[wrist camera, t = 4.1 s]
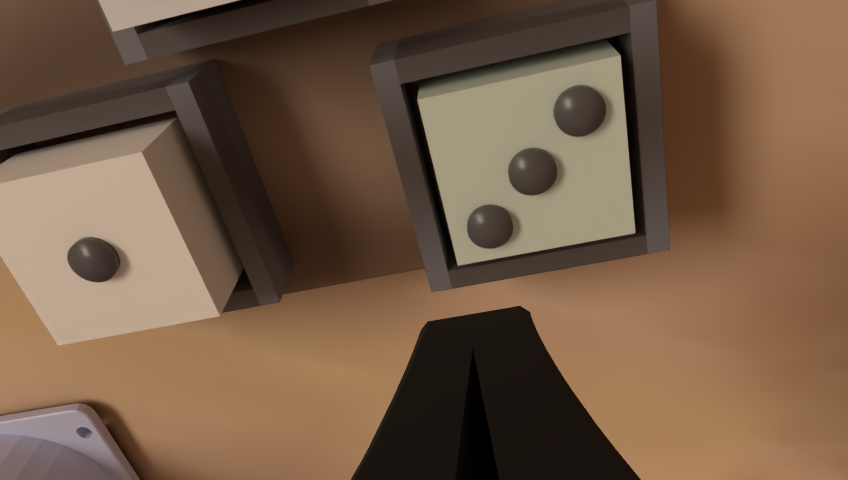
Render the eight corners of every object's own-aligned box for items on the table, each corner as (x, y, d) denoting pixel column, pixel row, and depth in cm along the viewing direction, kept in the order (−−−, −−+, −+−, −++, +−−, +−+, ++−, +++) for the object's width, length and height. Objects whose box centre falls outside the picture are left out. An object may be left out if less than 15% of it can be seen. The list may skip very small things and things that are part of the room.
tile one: (243, 268, 16) (217, 321, 14) (98, 295, 17) (53, 351, 15) (178, 117, 14) (137, 155, 12) (15, 154, 15) (-48, 196, 13)
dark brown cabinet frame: (641, 204, 18) (674, 263, 15) (136, 300, 20) (90, 366, 17) (592, -433, 12) (636, -520, 9) (-138, -199, 14) (-274, -213, 11)
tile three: (614, 193, 16) (637, 237, 14) (456, 223, 17) (458, 270, 15) (598, 31, 14) (622, 58, 12) (420, 71, 15) (416, 103, 13)
